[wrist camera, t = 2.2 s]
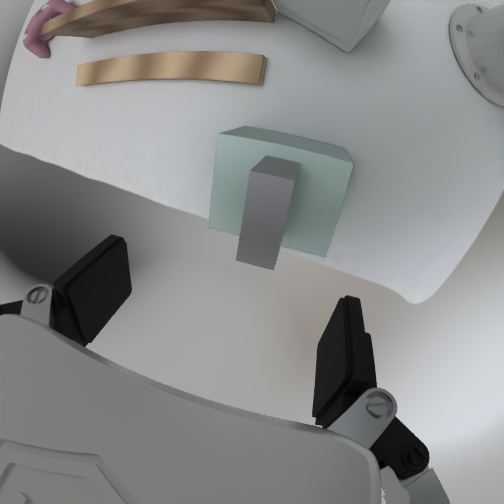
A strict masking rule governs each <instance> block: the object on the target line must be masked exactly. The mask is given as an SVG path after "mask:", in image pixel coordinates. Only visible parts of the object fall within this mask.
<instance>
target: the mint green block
mask: <svg viewBox="0 0 504 504" xmlns="http://www.w3.org/2000/svg"><path fill="white" fill-rule="evenodd" d="M353 166H354V163H353V161H352V160H351V158H350V157H349V155H348V154H347V152H346V151H345V149H344V148H342V147H338V146H335V145H331V144H328V143H324V142H320V141H316V140H312V139H308V138H304V137H299V136H295V135H290V134H286V133H281V132H276V131H271V130H266V129H260V128H254V127H249V126H243V127H240V128H236V129H233V130H229V131H226V132H222V133H219V134H218V142H217V150H216V159H215V167H214V176H213V185H212V195H211V205H210V216H209V228H211V229H215V230H219V231H223V232H227V233H231V234H235V235H239V236H240V238H239V245H238V251H237V258H236V260H237V261H240V262H244V263H248V264H252V265H255V266H259V267H263V268H267V269H271V270H274V267H275V264H276V260H277V257H278V253H279V250H280V246H283V247H287V248H291V249H294V250H298V251H302V252H306V253H310V254H314V255H318V256H322V257H325V256H326V253H327V250H328V247H329V245H330V242H331V239H332V236H333V232H334V229H335V226H336V223H337V220H338V217H339V214H340V210H341V207H342V204H343V201H344V197H345V194H346V190H347V187H348V184H349V180H350V177H351V173H352V169H353Z"/></svg>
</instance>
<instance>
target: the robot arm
mask: <svg viewBox="0 0 504 504" xmlns="http://www.w3.org/2000/svg"><path fill="white" fill-rule="evenodd" d="M449 29H450V38H451V42H452V47H453V50H454V52H455V55H456V58H457V60H458V62H459V64H460V66H461V68H462V70H463V71H464V73H465V74H466V76H467V78H468V79H469V80H470V82H471V83H472V84H473V86H474V87H475V88H476V89H477V90H478V91H479V92H480V93H481V94H482V95H483V96H484V97H486V98H487V99H488V100H489V101H491V102H493V103H495V104H496V105H499V106H502V107H504V4H503V5H500V6H497V7H495V8H492V9H488V8H486V7H484V6H482V5H477V4H466V5H463V6H461V7H460V8H458V9H456V11H455V12H454V13H453V15H452V17H451V20H450V28H449ZM53 286H54V289H53V290H52V289H51V288H50V287H49V286H48V285H45V284H38V285H35V286H33V287H31V288H30V289H29V290H28V291H27V292H26V294H25V296H24V299H23V300H21V301H17V302H12V303H7V304H2V305H0V504H381V488H382V489H383V491H384V493H385V495H384V496H383V497H384V499H385V501H386V504H450V502H449V499H448V497H447V495H446V493H445V491H444V489H443V487H442V485H441V483H440V481H439V479H438V477H437V476H436V474H435V472H434V470H433V468H431V469H429V467H428V463H429V451H428V449H427V447H426V446H425V445H424V443H422V442H421V441H420V440H419V439H418V438H417V437H416V436H415V435H414V434H413V433H412V432H411V431H410V430H409V429H408V428H407V427H406V426H405V425H404V424H403V423H402V422H401V421H400V420H399V419H398V418H396V416H395V415H396V413H397V403H396V401H395V399H394V397H393V396H392V395H391V394H390V393H389V392H388V391H386V390H385V389H381V388H377V382H376V372H375V363H374V355H373V348H372V341H371V336H370V334H369V333H366V332H365V328H364V321H363V315H362V309H361V302H360V299H359V298H356V297H352V296H348V295H347V296H345V297H344V298H340V299H339V301H338V304H337V306H336V308H335V310H334V312H333V314H332V316H331V318H330V321H329V322H328V325H327V327H326V329H325V331H324V333H323V335H322V337H321V339H320V341H319V343H318V347H317V362H316V376H315V388H314V399H313V410H312V417H316V422H315V425H321V426H322V428H320V427H317V426H313V425H308V424H303V423H299V422H294V421H289V420H284V419H280V418H275V417H271V416H266V415H262V414H258V413H254V412H250V411H246V410H242V409H239V408H234V407H231V406H227V405H224V404H221V403H217V402H214V401H211V400H207V399H204V398H202V397H198V396H195V395H193V394H190V393H187V392H184V391H181V390H178V389H175V388H173V387H170V386H168V385H165V384H162V383H160V382H157V381H155V380H153V379H150V378H148V377H145V376H143V375H141V374H138V373H136V372H134V371H132V370H129V369H127V368H125V367H123V366H121V365H119V364H116V363H114V362H112V361H110V360H108V359H106V358H104V357H102V356H100V355H98V354H96V353H94V352H93V351H91V350H89V349H87V348H85V347H86V345H87V344H88V343H91V342H92V341H93V340H94V338H95V337H96V335H98V333H99V332H100V331H101V330H102V328H103V327H104V326H105V325H106V323H107V322H108V321H109V320H110V319H111V317H112V316H113V315H114V314H115V312H116V311H117V310H118V309H119V307H120V306H121V305H122V304H123V303H124V302H125V300H126V299H127V298H128V297H129V296H130V294H131V291H132V286H131V278H130V271H129V262H128V253H127V244H126V242H125V241H124V238H122V237H119V236H116V235H110V236H108V237H107V238H106V239H105V240H103V241H102V242H101V243H100V244H98V245H97V246H96V247H95V248H93V249H92V250H91V251H90V252H88V253H87V254H86V255H85V256H84V257H82V258H81V259H80V260H79V261H77V262H76V263H75V264H74V265H73V266H72V267H71V268H69V269H68V270H67V271H66V272H65V273H64V274H62V275H61V276H60V277H59V278H58V279H57V280H56V281H55V282H54V283H53ZM74 341H75V342H74Z"/></svg>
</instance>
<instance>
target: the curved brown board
mask: <svg viewBox="0 0 504 504" xmlns="http://www.w3.org/2000/svg"><path fill="white" fill-rule="evenodd" d="M275 12H276V10H275V8H274V6H273V4H272V2H271V0H94V1H91V2H89V3H86V4H84V5H81V6H79V7H76V8H74V9H72V10H70V11H67V12H65V13H63V14H61V15H59V16H57V17H55V18H53V19H51V20H49V21H47V22H45V23H43V26H42V31H41V36H43V35H47V36H75V37H87V38H93V37H96V36H100V35H104V34H108V33H112V32H117V31H121V30H126V29H131V28H136V27H142V26H149V25H155V24H163V23H172V22H184V21H201V20H241V21H258V22H269V23H274V17H275ZM266 60H267V58H266V57H265V56H264V55H257V54H247V53H234V52H212V51H185V52H163V53H150V54H141V55H132V56H125V57H118V58H112V59H106V60H101V61H96V62H91V63H86V64H82V65H78V69H77V78H76V86H86V85H93V84H100V83H109V82H119V81H131V80H150V79H195V80H214V81H227V82H237V83H246V84H254V85H261V86H262V83H263V77H264V72H265V66H266Z"/></svg>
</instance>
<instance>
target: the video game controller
mask: <svg viewBox="0 0 504 504" xmlns="http://www.w3.org/2000/svg"><path fill="white" fill-rule="evenodd" d="M74 8H76V7H75V6H74V5H72V4H70V3H68V2H66V1H64V0H50V1H48V2H47V3H46V4H45V5H44V6H43V7H41V8H40V9H39V10H38V11H37V12H36V14H35V15H34V16H33V18H32V19H31V21H30V22H29V24H28V26H27V28H26V31H25V34H24V37H23V43H24V46H25V47H26V48H27V49H28V50H30V51H31V52H32V53H34V54H35V55H37V56H38V57H40V58H48V57H49V56H50V52H49V50H48V48H47V47H46V46H45V44H44V43H42V41H44V40H49V39H51V38H52V37H53V36H47V35H43V36H41V31H42V26H43V23H45V22H47V21H49V20H50V18H51V19H53V18H55V17H57V16H59V15H61V14H63V13H65V12H67V11H70V10H72V9H74Z"/></svg>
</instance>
